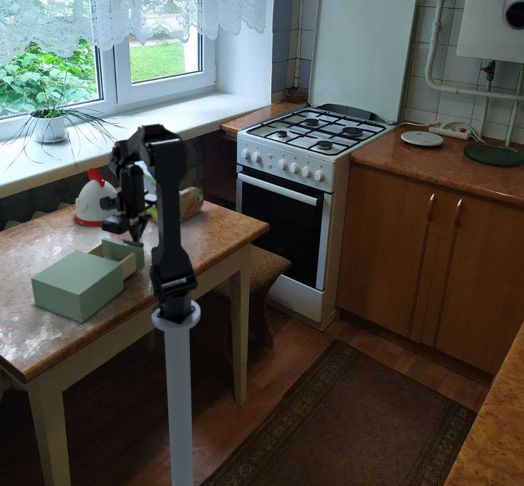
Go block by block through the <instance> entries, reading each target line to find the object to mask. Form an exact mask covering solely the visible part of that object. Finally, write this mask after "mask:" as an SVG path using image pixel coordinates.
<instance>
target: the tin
mask: <svg viewBox="0 0 524 486" xmlns="http://www.w3.org/2000/svg"><path fill="white" fill-rule="evenodd" d="M204 202H205V193H204V191H203V189H201V188H200V187H196V186H189V187H187V188H185V189H183V190H180V220H181V222H183V221H185V220H187V219H189V218H190V217H192V216H194V215H196V214H197V213H199V212H200V211H201V210H202V208H203V206H204Z"/></svg>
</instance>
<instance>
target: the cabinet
mask: <svg viewBox="0 0 524 486" xmlns="http://www.w3.org/2000/svg"><path fill="white" fill-rule="evenodd" d="M30 281H31V287H32V294H33V300H34V304H35V306H37V307H40V308H43V309H45V310H48V311H50V312H53V313H55V314H58V315H61V316H64V317H66V318H69V319H71V320H74V321H77V322H80V323H84V322H85V321H87V320H88V319H89V318H90V317H92V316H93V315H94V314H95V313H97V312H98V311H99V310H100V309H101V308H103V307H105V305H106V304H107V303H109V302H110V301H111V300H113V299H114V298H115V297H116V296H117V295H119V294H120V293H121V292H122V291H124V289H125V287H124V280H123V274H122V264H121V263H118V261H117V262H115V260H114V261H111V260H108V259H105V258H102V257H98V256H95V255H92V254H89V253H86V251H82V250H79V249H75V250H73V251H71V252H70V253H68V254H66V256H64V257H62V258H61V259H59V260H58V261H56V262H54V263H52V264H51V265H49V266H48V267H46V268H44V269H43V270H42V271H40V272H38V273H36V274H35V275H33V276H32V277H30Z"/></svg>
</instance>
